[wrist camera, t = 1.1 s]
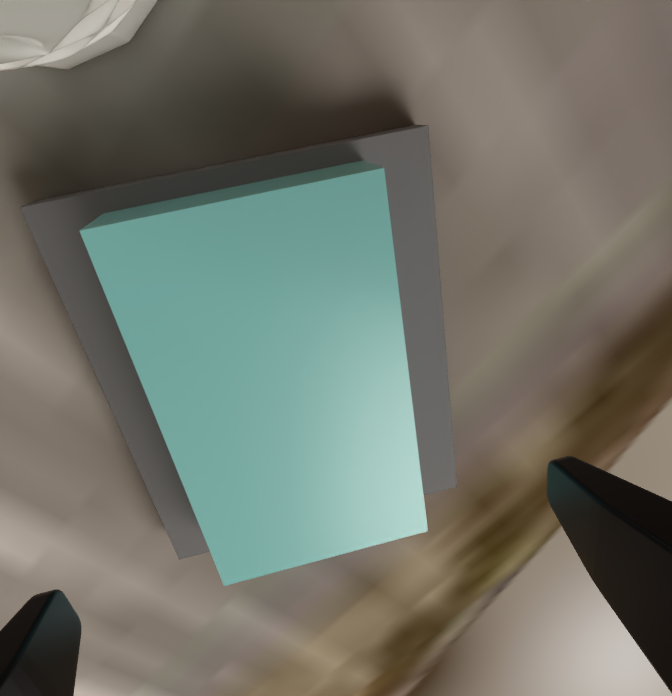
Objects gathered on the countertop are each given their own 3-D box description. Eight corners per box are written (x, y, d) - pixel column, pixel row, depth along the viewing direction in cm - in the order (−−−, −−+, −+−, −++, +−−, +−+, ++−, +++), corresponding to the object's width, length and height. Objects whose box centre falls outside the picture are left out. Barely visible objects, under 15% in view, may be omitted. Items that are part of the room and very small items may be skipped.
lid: (363, 160, 12) (384, 167, 11) (408, 488, 17) (427, 531, 16) (103, 213, 12) (79, 230, 10) (225, 536, 17) (224, 586, 15)
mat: (415, 124, 13) (428, 125, 12) (446, 468, 19) (456, 486, 18) (35, 200, 12) (19, 207, 12) (182, 537, 18) (179, 559, 17)
